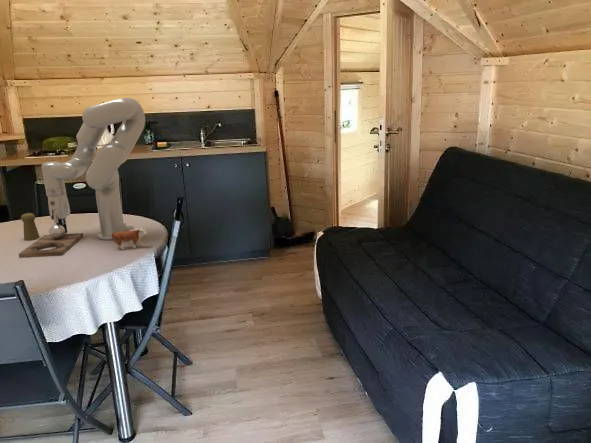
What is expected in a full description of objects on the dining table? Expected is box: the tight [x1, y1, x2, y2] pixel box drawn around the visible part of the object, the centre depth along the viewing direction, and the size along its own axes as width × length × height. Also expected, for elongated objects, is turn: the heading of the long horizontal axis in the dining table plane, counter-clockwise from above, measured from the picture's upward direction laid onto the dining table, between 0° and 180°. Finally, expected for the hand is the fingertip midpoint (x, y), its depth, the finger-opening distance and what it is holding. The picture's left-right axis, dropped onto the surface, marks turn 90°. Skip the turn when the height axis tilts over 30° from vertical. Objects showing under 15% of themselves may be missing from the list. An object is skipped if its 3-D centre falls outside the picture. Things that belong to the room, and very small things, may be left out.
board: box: [18, 232, 84, 258], centre depth 199 cm, size 24×16×2 cm, turn 4°
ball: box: [48, 223, 65, 239], centre depth 204 cm, size 6×6×6 cm
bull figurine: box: [111, 227, 148, 251], centre depth 193 cm, size 4×13×8 cm, turn 98°
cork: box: [20, 212, 41, 241], centre depth 209 cm, size 6×6×11 cm
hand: (63, 233), depth 209 cm, fingers closed
